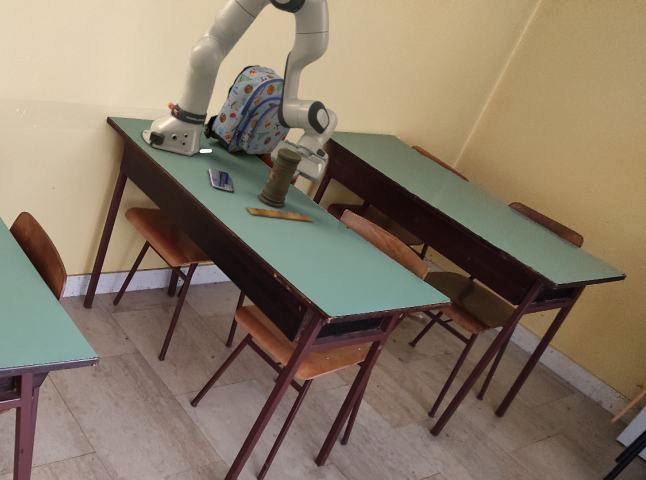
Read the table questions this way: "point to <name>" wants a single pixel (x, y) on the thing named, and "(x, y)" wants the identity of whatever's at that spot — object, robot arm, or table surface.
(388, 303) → the table surface
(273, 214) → the ruler
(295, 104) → the robot arm
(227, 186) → the mobile phone
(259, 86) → the backpack
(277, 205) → the container
